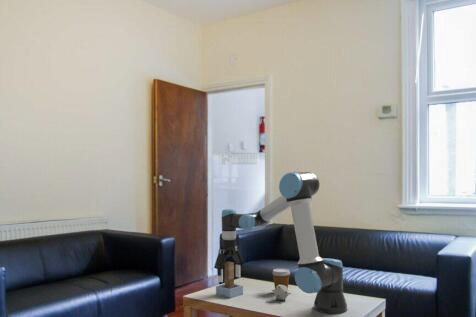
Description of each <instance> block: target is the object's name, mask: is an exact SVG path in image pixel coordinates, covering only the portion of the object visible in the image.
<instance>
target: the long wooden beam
mask: <svg viewBox="0 0 476 317" xmlns="http://www.w3.org/2000/svg"><path fill="white" fill-rule="evenodd" d="M223 267H224V284H225V288H228V289H231V288H234V284H235V261H233V262H232V261H225V263H224V265H223Z"/></svg>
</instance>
